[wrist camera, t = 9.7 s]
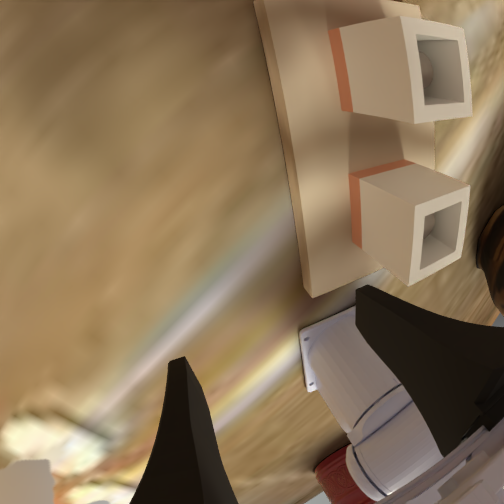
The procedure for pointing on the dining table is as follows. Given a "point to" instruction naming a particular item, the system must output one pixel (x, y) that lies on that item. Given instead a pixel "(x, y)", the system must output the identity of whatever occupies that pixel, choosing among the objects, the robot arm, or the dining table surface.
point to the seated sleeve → (408, 217)
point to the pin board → (331, 131)
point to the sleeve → (402, 69)
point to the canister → (340, 480)
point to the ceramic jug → (493, 257)
